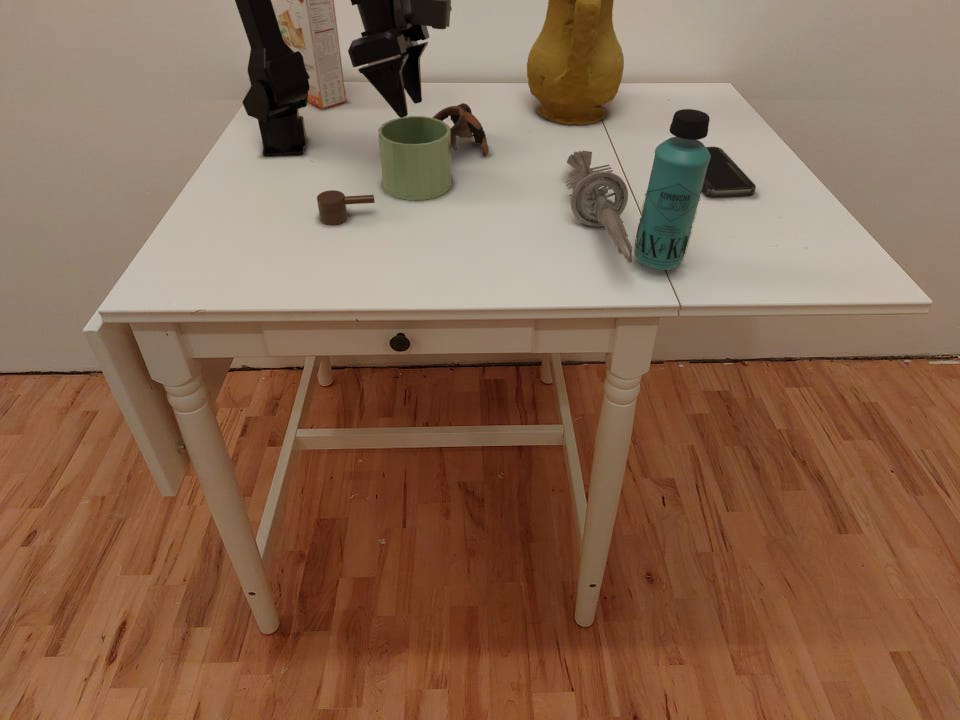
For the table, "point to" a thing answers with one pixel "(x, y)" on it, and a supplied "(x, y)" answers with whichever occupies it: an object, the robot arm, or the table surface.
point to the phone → (725, 177)
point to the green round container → (415, 157)
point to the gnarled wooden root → (464, 125)
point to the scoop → (337, 205)
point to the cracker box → (314, 46)
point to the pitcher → (575, 62)
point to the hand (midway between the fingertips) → (411, 109)
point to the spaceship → (599, 199)
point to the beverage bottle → (673, 192)
